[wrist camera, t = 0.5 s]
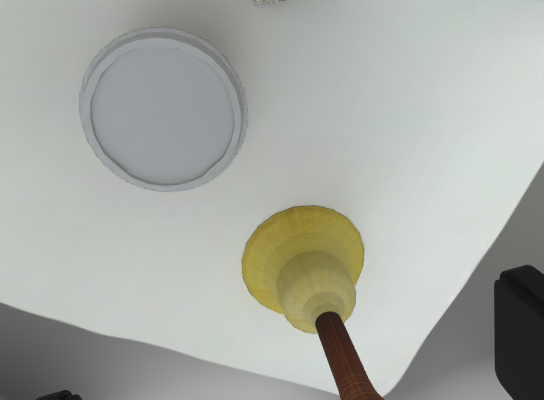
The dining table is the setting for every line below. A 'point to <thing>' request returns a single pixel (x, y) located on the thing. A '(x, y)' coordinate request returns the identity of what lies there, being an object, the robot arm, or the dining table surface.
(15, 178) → the dining table surface
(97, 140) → the disposable coffee cup
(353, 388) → the handbell
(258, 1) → the condiment
